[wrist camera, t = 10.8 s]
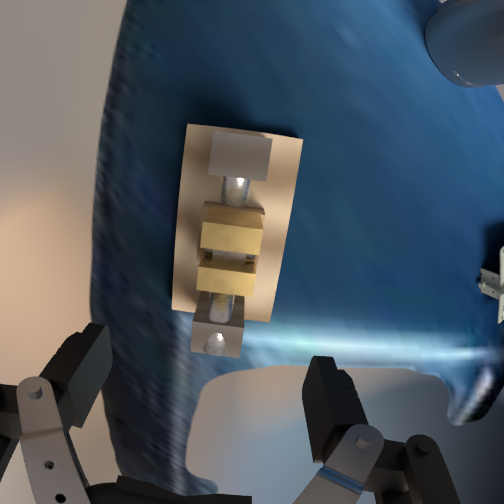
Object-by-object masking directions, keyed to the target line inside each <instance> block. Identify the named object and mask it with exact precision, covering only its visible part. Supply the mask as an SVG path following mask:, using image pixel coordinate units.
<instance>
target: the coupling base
mask: <svg viewBox="0 0 504 504" xmlns="http://www.w3.org/2000/svg"><path fill="white" fill-rule="evenodd" d="M302 142H303V139H298V138H292V137H286V136H280V135H274V134H268V133H261V132H254V131H247V130H239V129H232V128H223V127H214V126H205V125H194V124H187V131H186V139H185V147H184V155H183V164H182V173H181V182H180V192H179V203H178V214H177V227H176V240H175V255H174V273H173V295H172V309H174V310H180V311H187V312H194V313H195V314H194V317H193V321H192V336H191V352H198V353H205V352H204V348H205V345H206V342H207V340H208V339H209V337H210V336H211V335H212V334H214V333H219V334H221V335H222V337H223V338H224V341H225V344H226V350H227V355H224V356H228V357H236V358H239V356H240V350H241V344H242V338H243V332H244V319H246V320H255V321H264V322H270V318H271V313H272V308H273V303H274V298H275V293H276V288H277V282H278V277H279V272H280V267H281V262H282V256H283V251H284V246H285V240H286V235H287V229H288V224H289V218H290V213H291V207H292V202H293V196H294V190H295V184H296V178H297V173H298V167H299V161H300V155H301V148H302ZM223 176H227V177H235V178H243V179H250V180H251V185H250V191H249V198H248V205H247V206H245V207H236V206H229V205H225V204H222V203H220V197H221V189H222V182H223ZM211 206H213V207H221V208H229V209H236V210H244V211H251V212H258V213H261V219H262V225H263V235H262V241H261V247H260V253H259V255H255V264H256V278H255V284H254V290H253V296H252V297H247V296H239V295H235V297H234V305H233V313H232V319H231V320H230V321H229V322H226V323H216V322H213V321H211V320H210V319H209V318H208V317H207V311H208V303H209V294H210V292H209V291H202V290H196V289H197V277H198V266H199V264H200V261H201V258H202V256H203V253H204V248H200V244H201V234H202V224H203V220H204V218H205V217H206V215H207V213H208V211H209V209H210V208H211ZM205 354H207V353H205Z"/></svg>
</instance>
